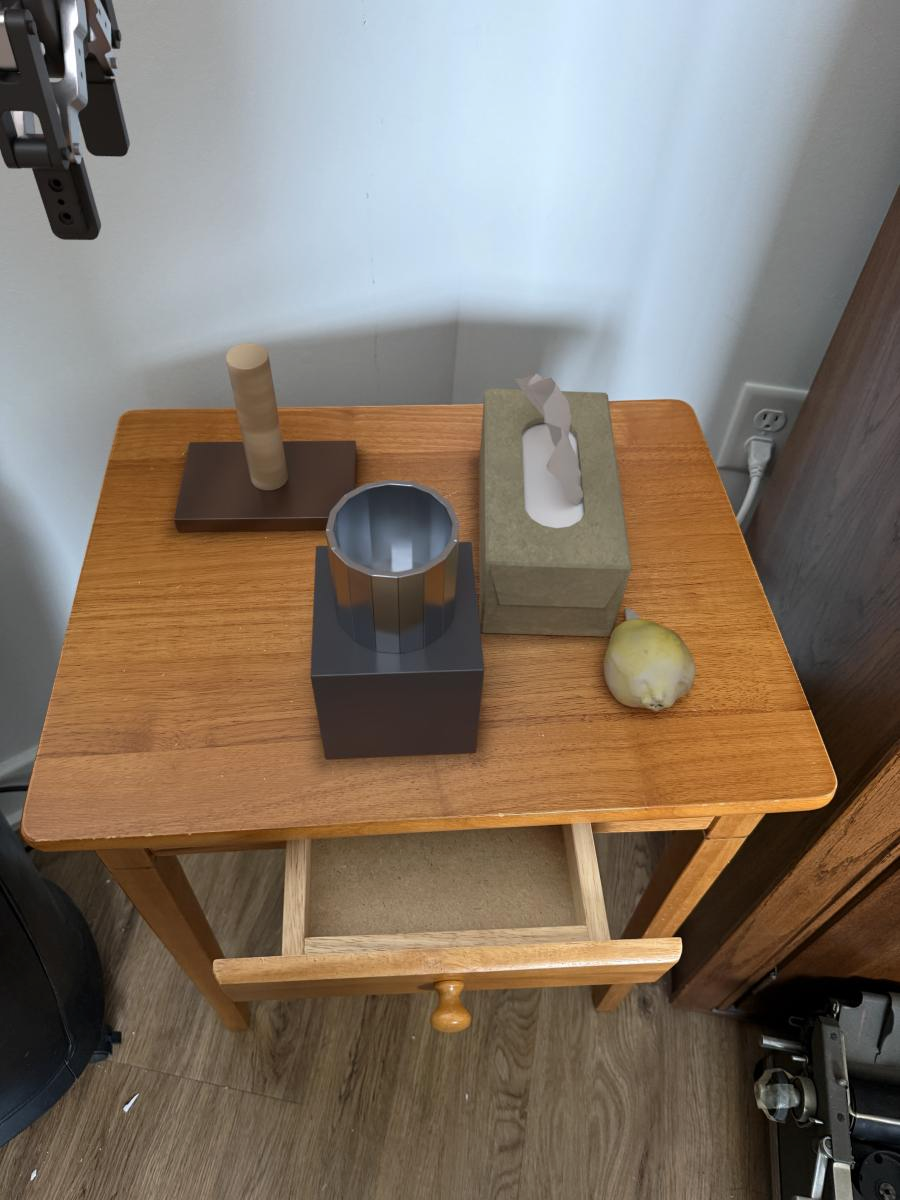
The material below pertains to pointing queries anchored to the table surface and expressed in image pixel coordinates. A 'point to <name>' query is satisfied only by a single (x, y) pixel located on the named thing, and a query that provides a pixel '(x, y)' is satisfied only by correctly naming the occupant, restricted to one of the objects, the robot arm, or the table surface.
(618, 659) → the fruit
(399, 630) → the tin
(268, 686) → the table surface
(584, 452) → the tissue box
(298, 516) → the board
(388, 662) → the stand
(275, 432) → the stick
